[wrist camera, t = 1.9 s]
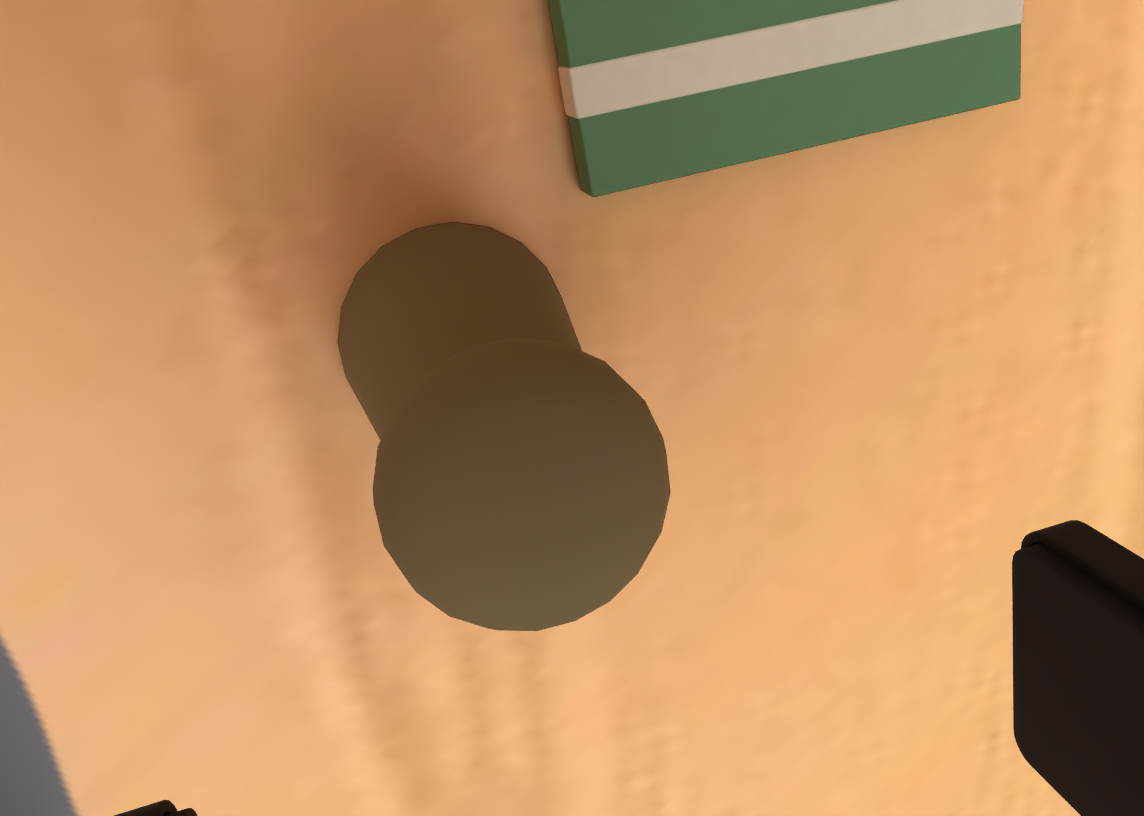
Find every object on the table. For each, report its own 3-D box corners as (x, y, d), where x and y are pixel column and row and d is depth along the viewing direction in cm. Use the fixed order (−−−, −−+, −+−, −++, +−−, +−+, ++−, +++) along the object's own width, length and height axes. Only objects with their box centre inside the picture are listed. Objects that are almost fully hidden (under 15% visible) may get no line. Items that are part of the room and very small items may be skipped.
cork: (478, 173, 24) (591, 270, 14) (608, 352, 27) (782, 541, 17) (287, 319, 24) (264, 518, 14) (434, 483, 27) (504, 750, 17)
